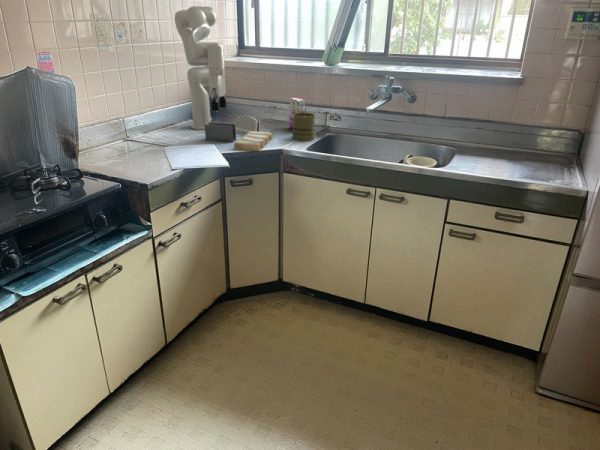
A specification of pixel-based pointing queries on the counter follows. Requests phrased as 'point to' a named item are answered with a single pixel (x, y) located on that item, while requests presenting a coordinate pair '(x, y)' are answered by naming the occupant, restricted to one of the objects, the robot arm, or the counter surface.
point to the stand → (253, 141)
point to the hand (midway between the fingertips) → (219, 109)
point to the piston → (303, 127)
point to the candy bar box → (296, 108)
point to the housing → (220, 132)
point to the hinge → (246, 124)
